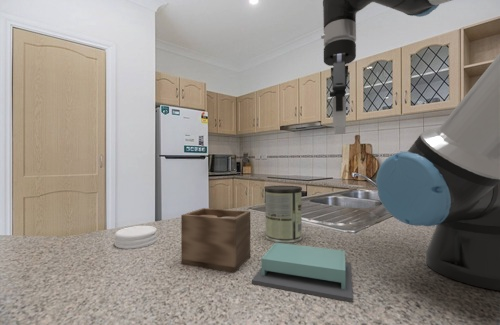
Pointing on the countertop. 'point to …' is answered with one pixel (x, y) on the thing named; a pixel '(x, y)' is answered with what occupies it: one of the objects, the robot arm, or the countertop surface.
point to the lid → (305, 262)
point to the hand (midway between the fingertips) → (339, 130)
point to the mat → (308, 284)
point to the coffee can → (283, 213)
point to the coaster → (135, 237)
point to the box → (215, 239)
